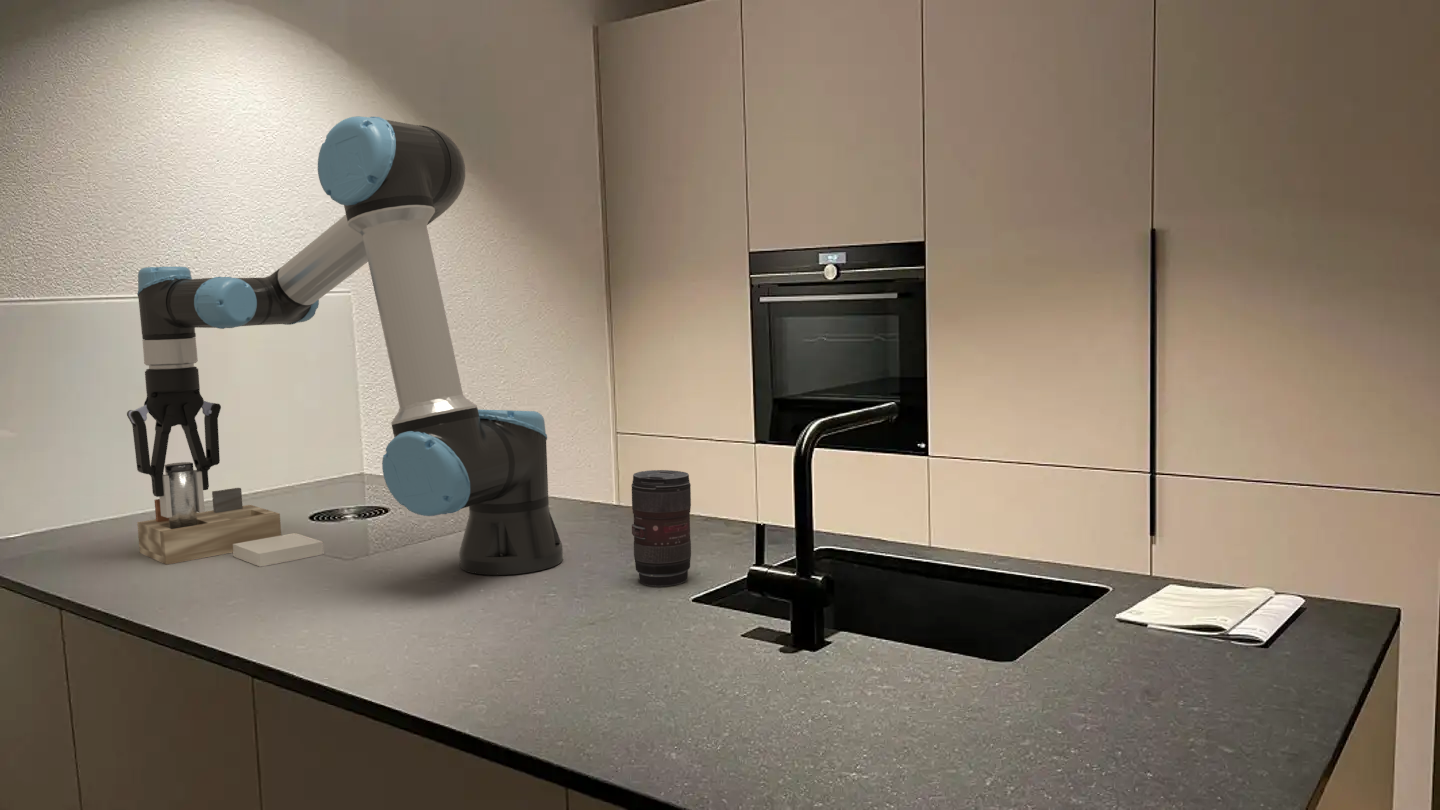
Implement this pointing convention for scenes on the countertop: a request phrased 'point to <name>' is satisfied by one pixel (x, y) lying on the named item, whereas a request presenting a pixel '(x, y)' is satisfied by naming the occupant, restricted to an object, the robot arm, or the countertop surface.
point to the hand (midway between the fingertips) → (183, 513)
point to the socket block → (207, 530)
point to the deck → (277, 549)
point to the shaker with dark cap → (182, 494)
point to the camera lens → (661, 526)
